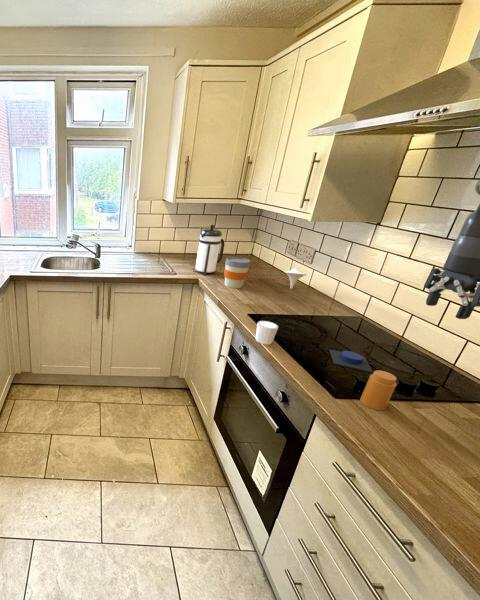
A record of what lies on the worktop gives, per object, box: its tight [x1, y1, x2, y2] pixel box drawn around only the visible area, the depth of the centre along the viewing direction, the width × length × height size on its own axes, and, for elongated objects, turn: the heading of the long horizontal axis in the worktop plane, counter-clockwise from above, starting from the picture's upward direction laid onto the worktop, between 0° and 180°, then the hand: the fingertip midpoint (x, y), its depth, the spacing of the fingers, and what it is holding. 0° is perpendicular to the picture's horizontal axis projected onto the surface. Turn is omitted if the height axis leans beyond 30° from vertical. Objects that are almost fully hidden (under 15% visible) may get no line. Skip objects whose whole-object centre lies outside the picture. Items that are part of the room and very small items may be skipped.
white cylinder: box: [255, 320, 279, 346], centre depth 119 cm, size 7×7×7 cm
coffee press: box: [194, 224, 225, 276], centre depth 196 cm, size 17×16×30 cm
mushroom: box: [283, 267, 308, 290], centre depth 171 cm, size 10×11×12 cm
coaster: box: [328, 349, 374, 374], centre depth 107 cm, size 10×10×1 cm
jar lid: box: [340, 350, 364, 365], centre depth 107 cm, size 6×6×2 cm
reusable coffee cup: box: [223, 256, 251, 289], centre depth 175 cm, size 13×13×15 cm
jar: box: [359, 369, 397, 411], centre depth 86 cm, size 5×5×10 cm
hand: (445, 311), depth 86 cm, fingers open, 8 cm apart
